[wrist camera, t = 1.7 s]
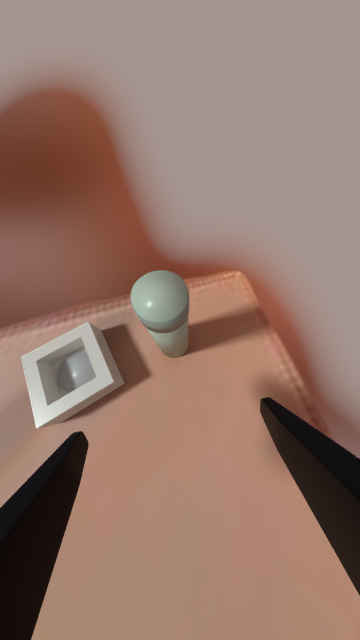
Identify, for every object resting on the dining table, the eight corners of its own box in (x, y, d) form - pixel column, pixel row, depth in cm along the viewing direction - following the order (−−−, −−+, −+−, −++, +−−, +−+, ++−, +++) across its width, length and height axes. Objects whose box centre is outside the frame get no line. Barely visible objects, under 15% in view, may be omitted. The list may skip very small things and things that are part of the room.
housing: (124, 383, 22) (113, 381, 19) (60, 423, 21) (36, 428, 18) (101, 330, 25) (88, 321, 22) (43, 361, 24) (20, 356, 21)
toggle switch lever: (194, 337, 24) (199, 282, 12) (180, 364, 23) (169, 331, 11) (168, 324, 25) (150, 261, 13) (153, 349, 24) (117, 304, 12)
